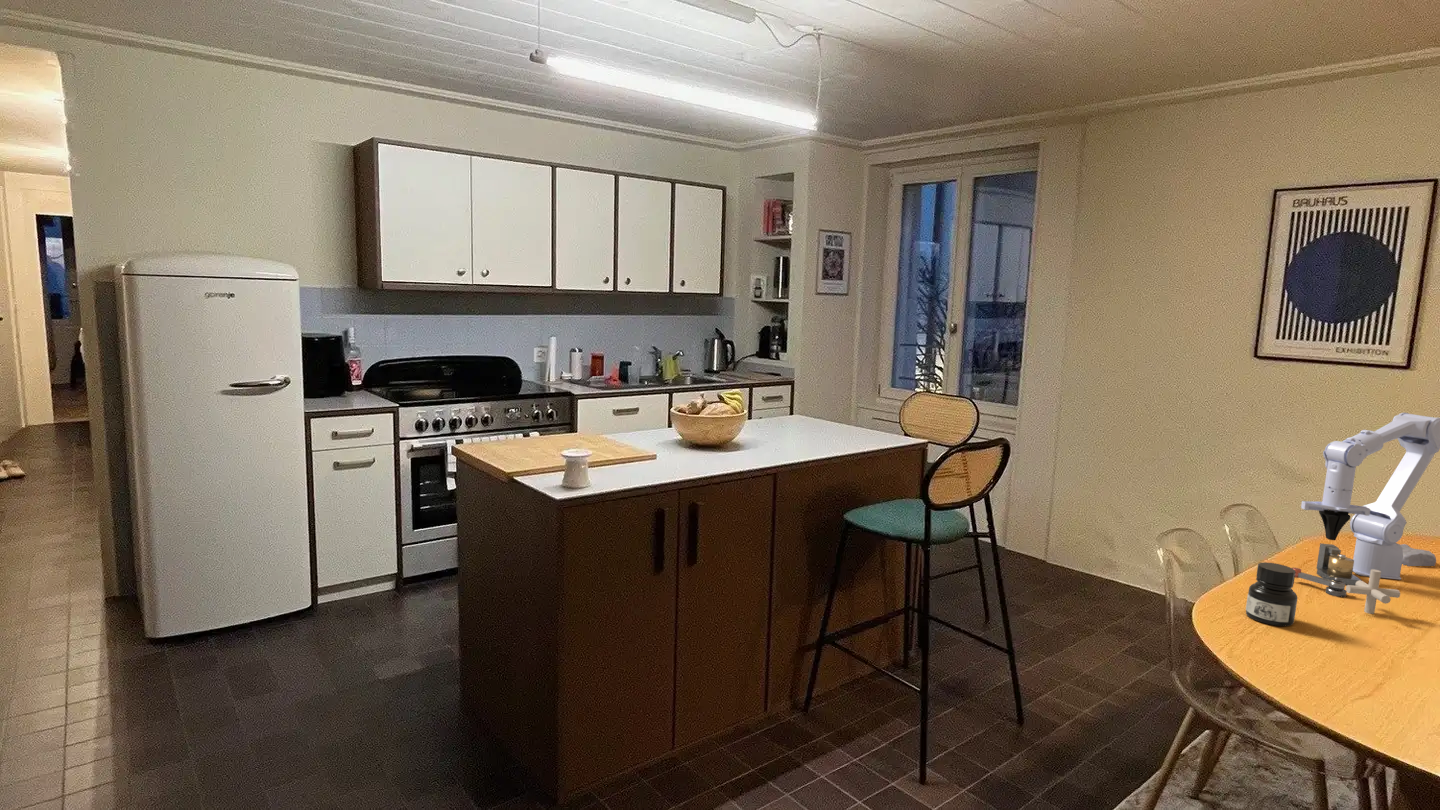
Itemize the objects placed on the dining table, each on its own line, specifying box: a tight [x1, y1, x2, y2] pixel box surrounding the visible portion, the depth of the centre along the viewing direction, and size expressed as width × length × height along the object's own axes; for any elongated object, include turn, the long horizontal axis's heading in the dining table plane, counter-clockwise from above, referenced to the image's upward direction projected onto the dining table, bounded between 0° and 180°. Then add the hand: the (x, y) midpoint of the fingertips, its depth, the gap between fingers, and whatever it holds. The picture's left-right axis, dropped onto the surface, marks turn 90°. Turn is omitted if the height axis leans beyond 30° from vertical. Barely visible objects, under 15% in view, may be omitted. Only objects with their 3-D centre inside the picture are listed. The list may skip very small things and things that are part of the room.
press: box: [1316, 543, 1363, 586], centre depth 206 cm, size 7×12×7 cm, turn 165°
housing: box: [1327, 553, 1354, 578], centre depth 203 cm, size 5×5×5 cm
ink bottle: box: [1245, 561, 1298, 627], centre depth 175 cm, size 10×9×12 cm
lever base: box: [1324, 577, 1347, 598], centre depth 193 cm, size 4×4×4 cm
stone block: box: [1398, 543, 1437, 567], centre depth 222 cm, size 12×5×10 cm
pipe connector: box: [1345, 569, 1401, 615], centre depth 181 cm, size 10×10×10 cm
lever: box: [1291, 567, 1346, 591], centre depth 196 cm, size 3×11×2 cm, turn 31°
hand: (1330, 539), depth 205 cm, fingers closed
